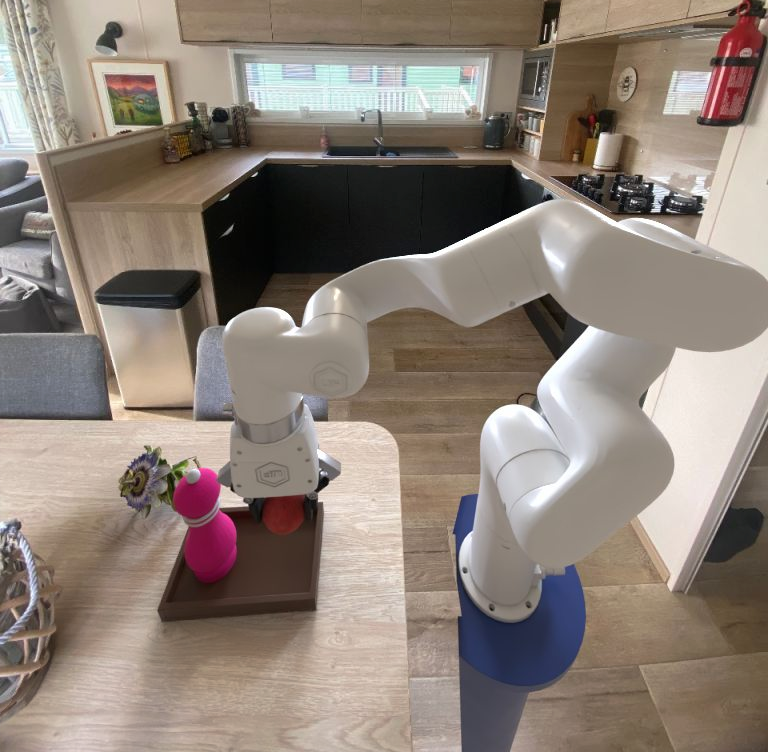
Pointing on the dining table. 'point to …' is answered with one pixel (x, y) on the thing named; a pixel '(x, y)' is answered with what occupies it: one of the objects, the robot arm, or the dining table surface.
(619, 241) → the robot arm
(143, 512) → the passion flower
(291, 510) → the onion
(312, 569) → the tray
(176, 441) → the dining table surface
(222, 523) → the pepper mill
